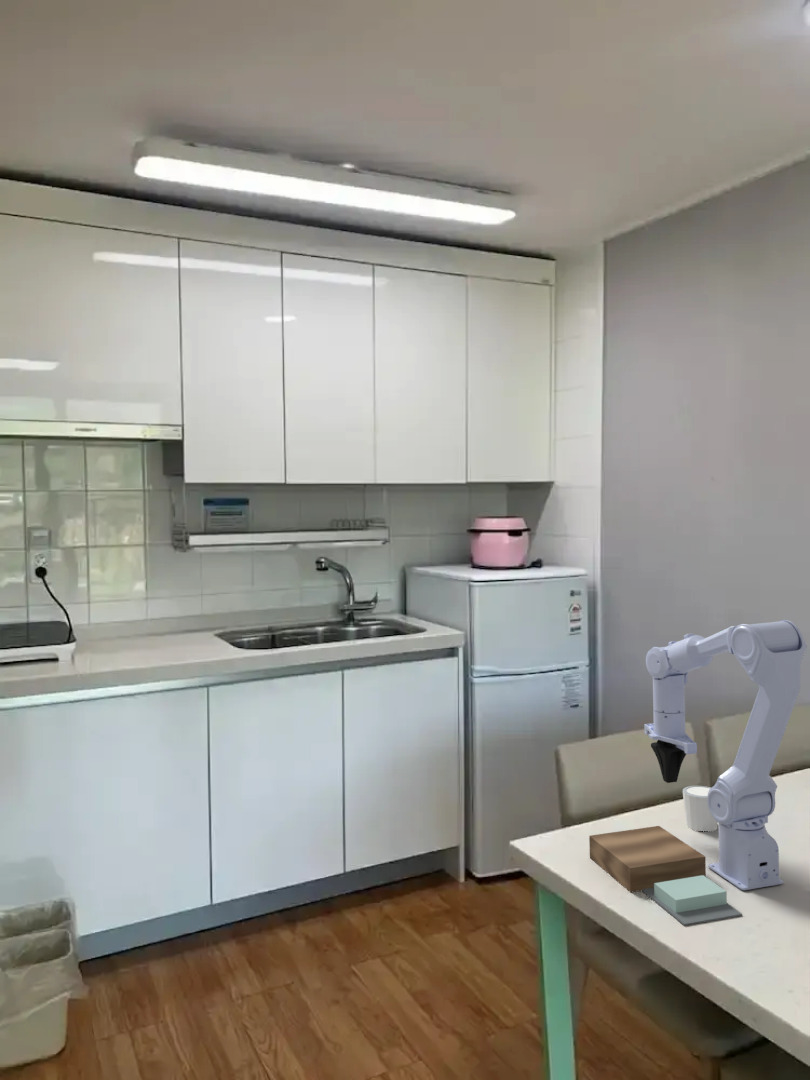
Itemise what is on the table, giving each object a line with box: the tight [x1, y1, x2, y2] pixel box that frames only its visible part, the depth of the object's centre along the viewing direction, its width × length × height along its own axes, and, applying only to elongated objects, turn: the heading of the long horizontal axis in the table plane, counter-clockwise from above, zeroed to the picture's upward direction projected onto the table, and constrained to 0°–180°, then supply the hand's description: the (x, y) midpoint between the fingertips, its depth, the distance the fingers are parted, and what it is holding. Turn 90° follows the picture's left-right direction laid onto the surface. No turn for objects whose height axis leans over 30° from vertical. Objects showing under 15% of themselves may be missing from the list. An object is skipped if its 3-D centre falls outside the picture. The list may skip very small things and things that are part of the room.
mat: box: [641, 887, 743, 927], centre depth 131 cm, size 12×10×1 cm
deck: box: [588, 825, 707, 893], centre depth 143 cm, size 14×14×4 cm
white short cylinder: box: [682, 785, 719, 833], centre depth 161 cm, size 7×7×7 cm
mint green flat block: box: [654, 875, 728, 913], centre depth 131 cm, size 6×9×2 cm, turn 105°
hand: (670, 781), depth 156 cm, fingers closed
